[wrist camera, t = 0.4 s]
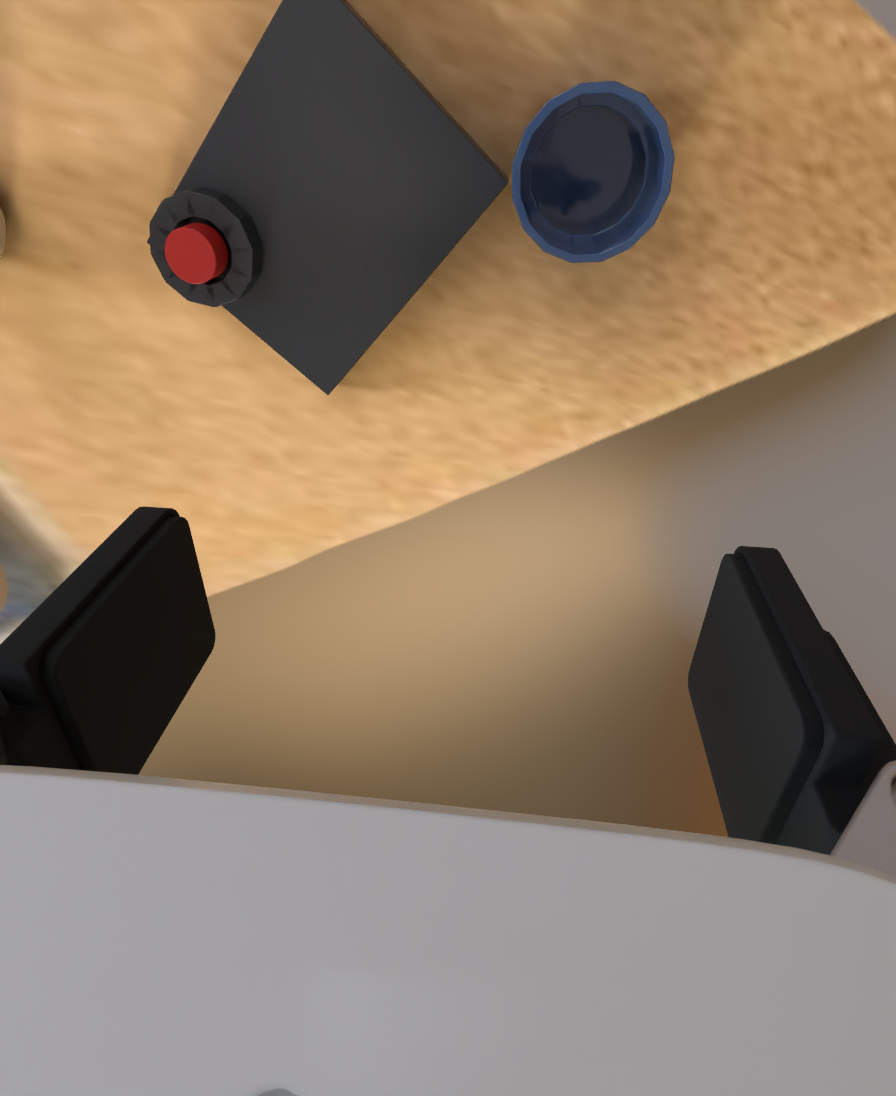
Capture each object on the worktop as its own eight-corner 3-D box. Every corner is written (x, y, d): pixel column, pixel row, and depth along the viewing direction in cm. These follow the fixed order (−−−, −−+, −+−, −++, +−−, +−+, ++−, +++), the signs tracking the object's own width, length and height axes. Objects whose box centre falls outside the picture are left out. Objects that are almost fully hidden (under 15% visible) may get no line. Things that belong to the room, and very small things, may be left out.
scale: (316, -33, 31) (294, -47, 28) (509, 179, 35) (507, 186, 32) (159, 241, 39) (129, 252, 36) (332, 388, 43) (317, 409, 40)
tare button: (194, 210, 35) (179, 214, 33) (238, 249, 36) (226, 255, 34) (169, 251, 36) (154, 257, 35) (212, 288, 37) (199, 295, 35)
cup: (590, 47, 32) (600, 37, 27) (683, 163, 34) (706, 172, 29) (486, 173, 35) (480, 183, 30) (577, 271, 37) (583, 294, 33)
